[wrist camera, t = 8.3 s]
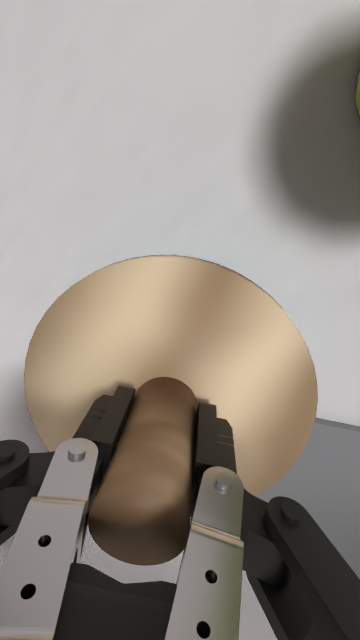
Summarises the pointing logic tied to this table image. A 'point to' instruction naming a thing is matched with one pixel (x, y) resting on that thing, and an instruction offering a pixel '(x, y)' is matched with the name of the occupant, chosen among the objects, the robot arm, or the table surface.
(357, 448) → the mat
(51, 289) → the table surface
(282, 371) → the lid
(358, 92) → the plant pot
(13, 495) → the robot arm
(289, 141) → the table surface
